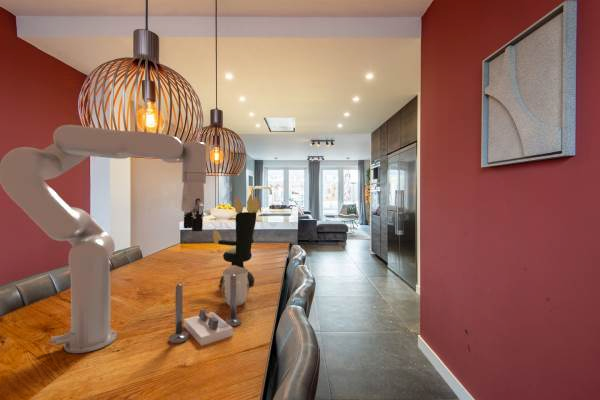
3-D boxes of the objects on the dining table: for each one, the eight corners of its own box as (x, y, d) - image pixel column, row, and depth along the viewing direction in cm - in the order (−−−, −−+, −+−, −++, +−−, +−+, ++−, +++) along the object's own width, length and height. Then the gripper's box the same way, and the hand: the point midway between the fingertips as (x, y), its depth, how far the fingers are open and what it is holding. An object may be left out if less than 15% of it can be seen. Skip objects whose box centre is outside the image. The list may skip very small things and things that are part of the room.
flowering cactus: (243, 276, 158) (244, 193, 157) (269, 285, 142) (270, 194, 142) (211, 283, 145) (212, 193, 144) (236, 294, 129) (236, 193, 128)
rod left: (171, 346, 85) (171, 288, 85) (166, 338, 89) (166, 283, 89) (191, 340, 88) (191, 284, 88) (185, 333, 93) (185, 280, 93)
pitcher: (224, 314, 108) (224, 277, 108) (219, 298, 125) (219, 266, 124) (253, 310, 112) (254, 274, 112) (245, 295, 129) (245, 264, 128)
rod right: (229, 328, 96) (229, 277, 96) (222, 322, 101) (222, 274, 100) (244, 324, 100) (244, 274, 100) (236, 318, 104) (237, 271, 104)
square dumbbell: (212, 329, 89) (213, 321, 90) (198, 316, 99) (200, 309, 99) (217, 328, 90) (218, 320, 91) (203, 316, 100) (204, 309, 100)
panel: (201, 345, 85) (201, 337, 85) (184, 326, 98) (184, 318, 98) (232, 335, 91) (232, 327, 91) (212, 318, 104) (212, 311, 104)
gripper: (175, 178, 102) (174, 227, 103) (190, 176, 89) (188, 232, 89) (197, 180, 107) (196, 226, 107) (214, 178, 93) (212, 231, 93)
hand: (192, 229), depth 98 cm, fingers open, 9 cm apart
